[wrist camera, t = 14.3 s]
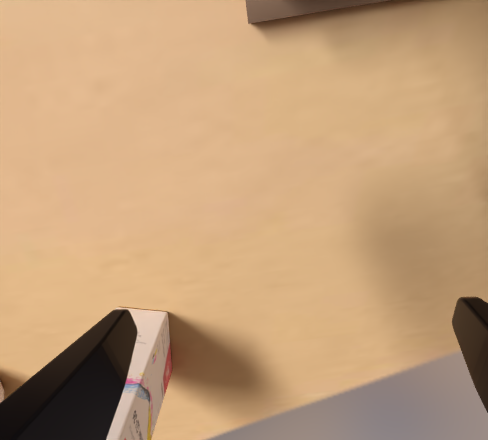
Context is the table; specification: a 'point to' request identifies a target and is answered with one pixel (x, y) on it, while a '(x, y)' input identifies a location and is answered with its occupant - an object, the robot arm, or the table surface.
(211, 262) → the table surface
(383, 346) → the table surface
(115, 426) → the ink cartridge box
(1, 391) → the teacup
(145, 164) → the table surface
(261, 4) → the low dock
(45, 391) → the robot arm
